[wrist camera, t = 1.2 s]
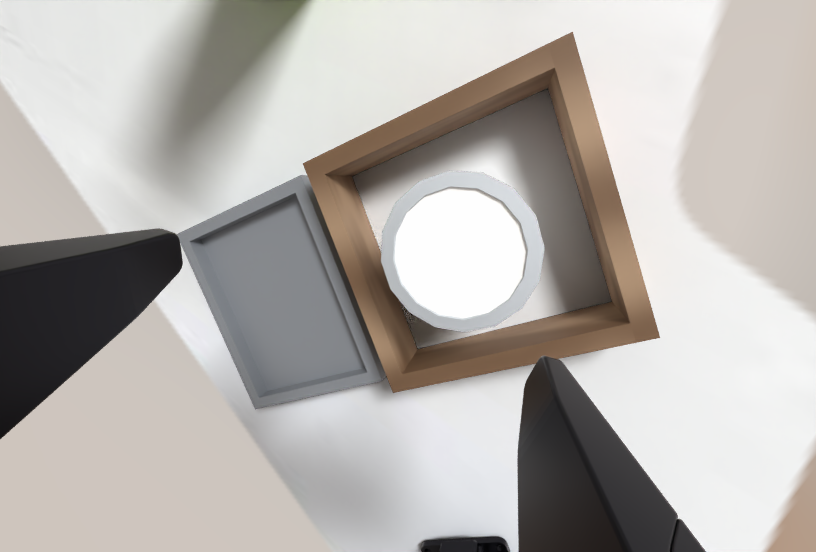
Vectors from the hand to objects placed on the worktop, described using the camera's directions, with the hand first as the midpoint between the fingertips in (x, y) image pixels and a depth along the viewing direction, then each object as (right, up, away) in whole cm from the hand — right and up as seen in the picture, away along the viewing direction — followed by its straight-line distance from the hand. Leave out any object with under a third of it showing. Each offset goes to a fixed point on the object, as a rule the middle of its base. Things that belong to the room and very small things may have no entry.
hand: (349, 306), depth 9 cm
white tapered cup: (+5, +3, +13) cm, 15 cm away
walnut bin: (+5, +3, +13) cm, 14 cm away
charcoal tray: (-7, -1, +18) cm, 19 cm away
